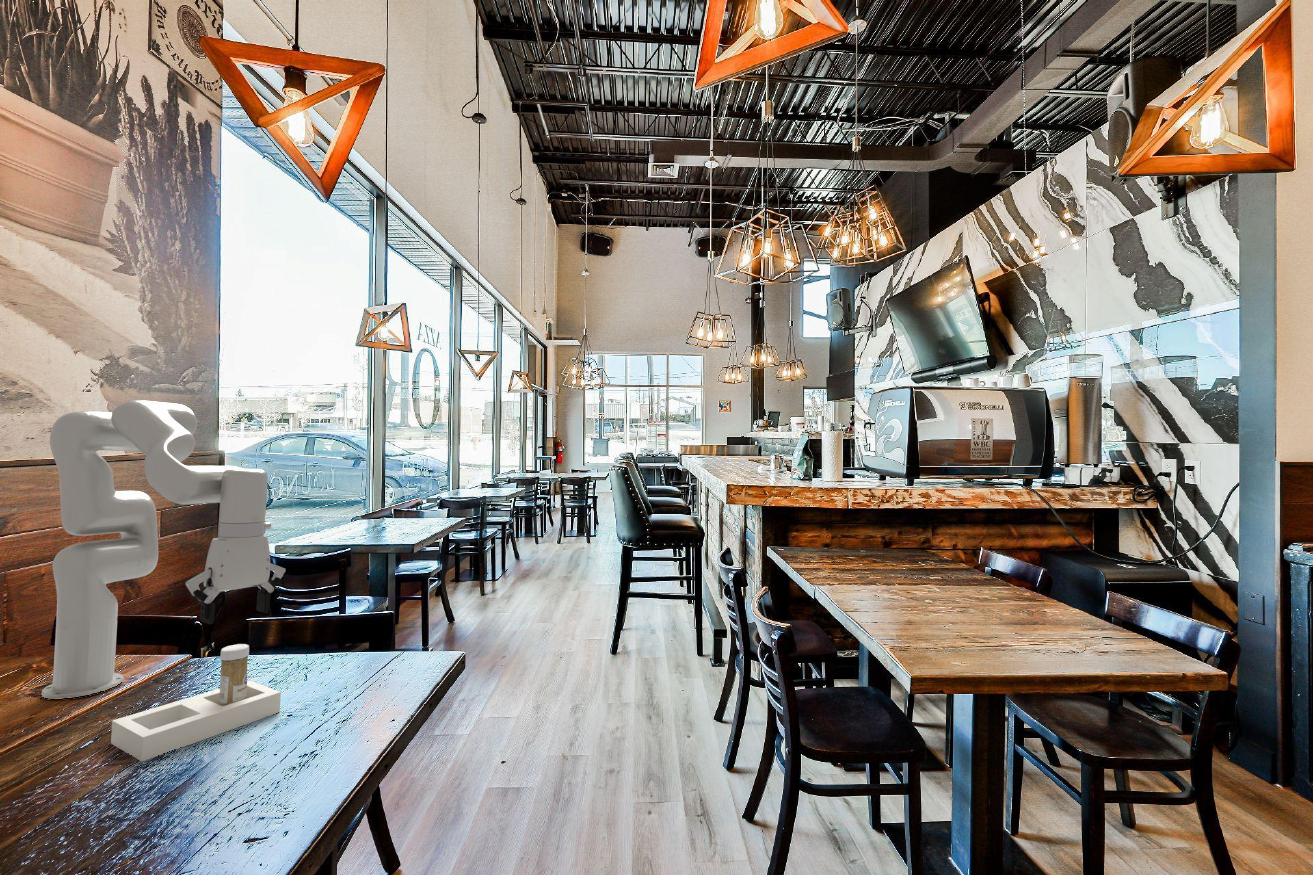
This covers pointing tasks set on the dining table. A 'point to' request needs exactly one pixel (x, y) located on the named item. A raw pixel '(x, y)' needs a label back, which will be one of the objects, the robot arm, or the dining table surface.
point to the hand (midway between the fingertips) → (236, 616)
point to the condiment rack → (190, 721)
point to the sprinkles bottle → (233, 674)
